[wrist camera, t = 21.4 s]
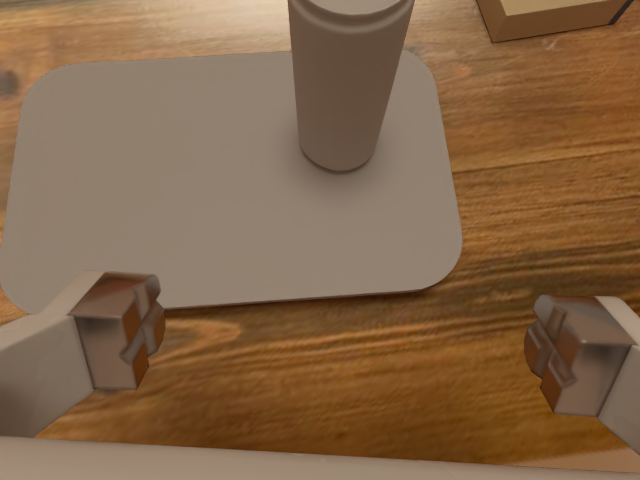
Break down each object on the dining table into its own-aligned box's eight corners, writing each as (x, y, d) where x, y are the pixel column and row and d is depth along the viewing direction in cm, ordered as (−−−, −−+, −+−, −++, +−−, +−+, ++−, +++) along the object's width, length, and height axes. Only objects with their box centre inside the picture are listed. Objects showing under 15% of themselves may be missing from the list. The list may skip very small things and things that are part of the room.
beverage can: (354, 93, 28) (380, -104, 16) (392, 155, 27) (448, -13, 15) (285, 123, 27) (261, -61, 16) (320, 188, 26) (322, 38, 15)
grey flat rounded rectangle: (47, 88, 31) (27, 66, 28) (420, 65, 31) (428, 42, 29) (17, 325, 26) (-10, 320, 24) (458, 293, 27) (471, 285, 24)
